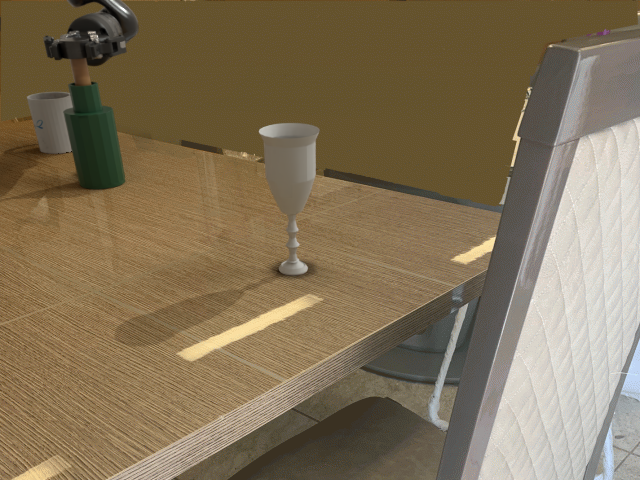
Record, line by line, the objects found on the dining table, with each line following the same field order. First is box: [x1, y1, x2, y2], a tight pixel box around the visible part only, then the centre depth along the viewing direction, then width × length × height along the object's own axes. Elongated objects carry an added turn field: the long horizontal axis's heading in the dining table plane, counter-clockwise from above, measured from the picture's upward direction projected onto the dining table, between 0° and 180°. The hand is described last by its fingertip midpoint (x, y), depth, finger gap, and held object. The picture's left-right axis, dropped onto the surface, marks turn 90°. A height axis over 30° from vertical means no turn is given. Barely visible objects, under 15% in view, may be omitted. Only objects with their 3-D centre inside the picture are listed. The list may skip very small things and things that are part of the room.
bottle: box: [63, 81, 126, 190], centre depth 111 cm, size 8×8×16 cm
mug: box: [26, 91, 73, 155], centre depth 134 cm, size 12×9×10 cm
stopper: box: [59, 38, 92, 86], centre depth 105 cm, size 5×5×8 cm
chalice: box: [258, 122, 321, 276], centre depth 77 cm, size 7×7×18 cm
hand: (72, 52), depth 101 cm, fingers closed on stopper, 4 cm apart
